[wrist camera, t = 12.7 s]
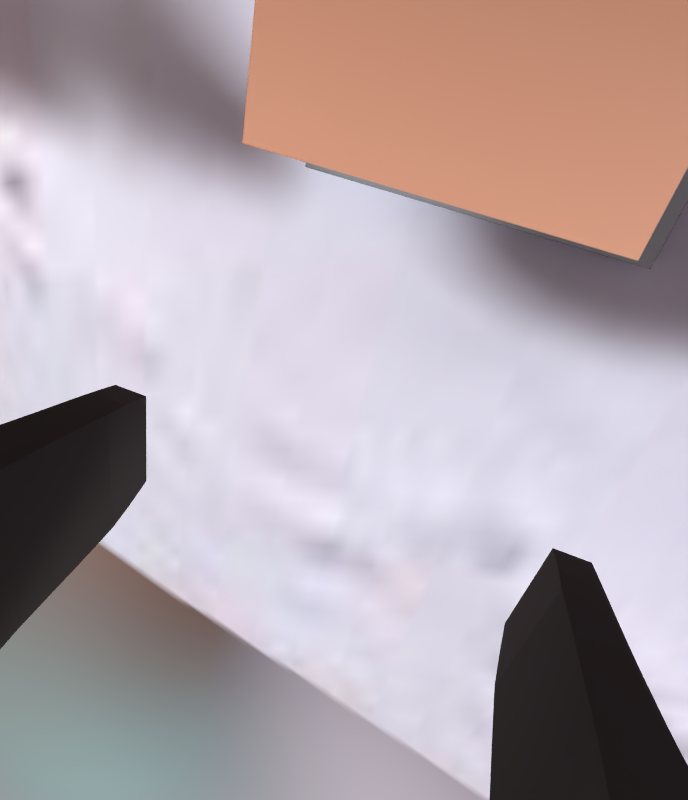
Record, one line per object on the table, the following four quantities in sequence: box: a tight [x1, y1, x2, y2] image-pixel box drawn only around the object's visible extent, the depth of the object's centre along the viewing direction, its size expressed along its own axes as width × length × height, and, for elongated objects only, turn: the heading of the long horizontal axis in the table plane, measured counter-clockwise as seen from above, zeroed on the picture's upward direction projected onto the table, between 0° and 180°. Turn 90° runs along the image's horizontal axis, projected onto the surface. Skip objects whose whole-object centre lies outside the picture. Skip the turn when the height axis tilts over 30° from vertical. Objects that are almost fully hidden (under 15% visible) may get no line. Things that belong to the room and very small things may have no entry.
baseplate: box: [306, 162, 688, 269], centre depth 13 cm, size 10×10×1 cm
